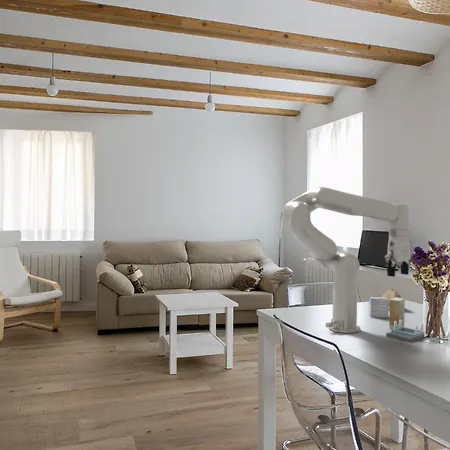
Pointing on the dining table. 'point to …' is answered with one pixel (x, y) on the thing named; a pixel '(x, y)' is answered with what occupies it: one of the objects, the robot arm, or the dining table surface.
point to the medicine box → (378, 307)
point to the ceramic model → (390, 296)
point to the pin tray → (406, 332)
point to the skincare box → (396, 311)
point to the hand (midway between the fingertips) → (397, 275)
